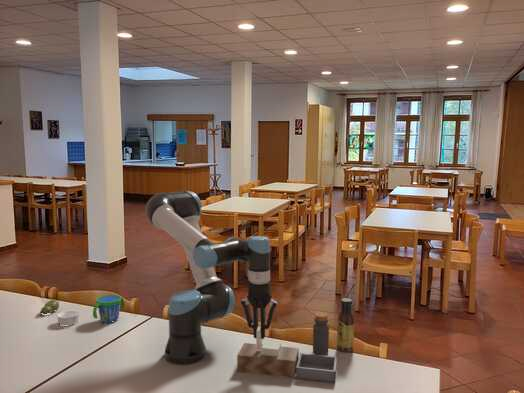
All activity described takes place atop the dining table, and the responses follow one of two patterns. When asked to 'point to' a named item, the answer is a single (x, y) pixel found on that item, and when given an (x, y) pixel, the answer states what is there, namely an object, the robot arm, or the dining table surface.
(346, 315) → the sauce bottle
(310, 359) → the box
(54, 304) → the pear
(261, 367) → the brown wooden block
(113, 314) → the snack cup
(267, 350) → the tile
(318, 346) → the bottle
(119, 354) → the dining table surface
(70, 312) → the ramekin
